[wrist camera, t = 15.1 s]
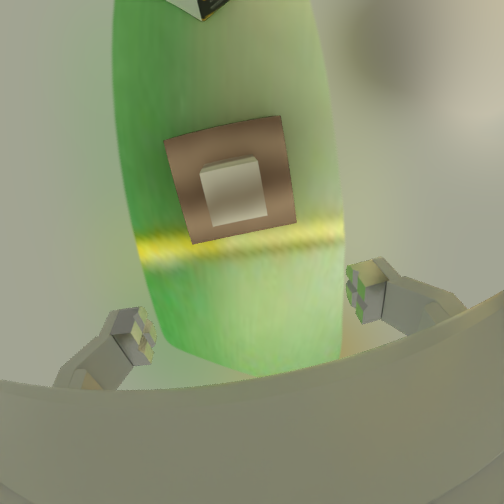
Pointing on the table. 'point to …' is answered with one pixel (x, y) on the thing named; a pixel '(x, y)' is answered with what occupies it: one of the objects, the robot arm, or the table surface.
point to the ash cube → (233, 190)
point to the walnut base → (224, 147)
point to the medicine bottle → (199, 7)
